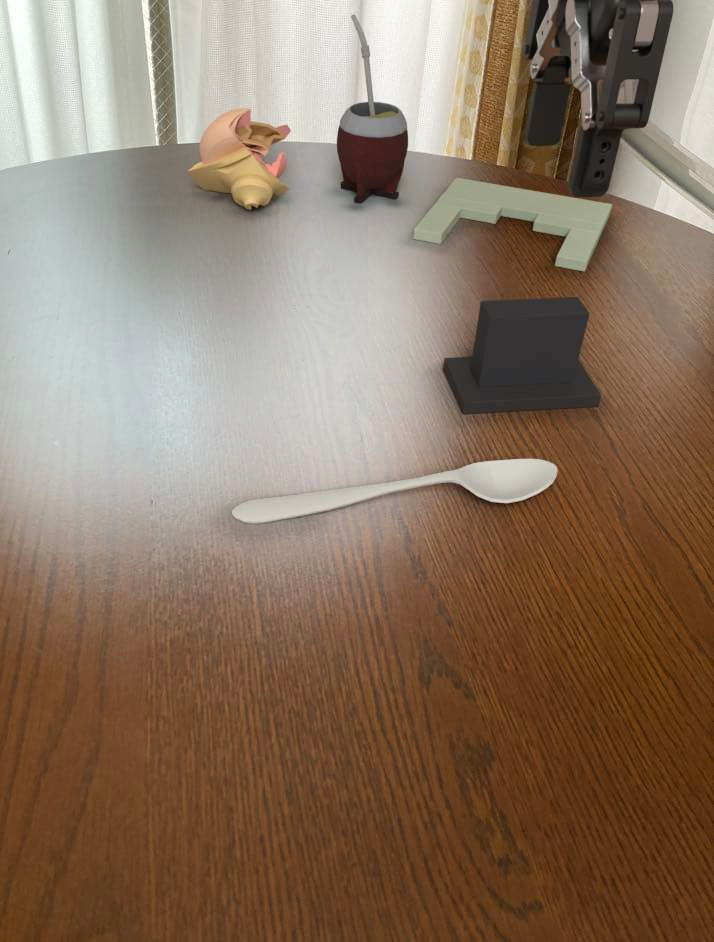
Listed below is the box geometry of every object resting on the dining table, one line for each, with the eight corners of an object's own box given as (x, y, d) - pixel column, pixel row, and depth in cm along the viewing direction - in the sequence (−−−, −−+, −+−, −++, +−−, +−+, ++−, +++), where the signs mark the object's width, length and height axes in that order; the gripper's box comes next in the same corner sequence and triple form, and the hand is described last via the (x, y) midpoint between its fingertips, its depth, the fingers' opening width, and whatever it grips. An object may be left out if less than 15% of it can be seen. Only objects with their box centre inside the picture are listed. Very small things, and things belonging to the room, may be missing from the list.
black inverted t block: (562, 349, 72) (580, 271, 67) (598, 406, 66) (620, 325, 61) (436, 355, 71) (446, 276, 66) (462, 414, 65) (475, 332, 60)
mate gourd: (388, 211, 91) (401, 43, 81) (315, 196, 93) (319, 31, 83) (414, 185, 96) (430, 24, 86) (345, 171, 98) (352, 13, 88)
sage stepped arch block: (610, 213, 91) (612, 203, 91) (584, 272, 82) (587, 261, 81) (454, 186, 96) (456, 177, 95) (412, 239, 86) (414, 228, 85)
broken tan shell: (304, 219, 90) (245, 164, 83) (224, 249, 96) (162, 200, 88) (307, 139, 93) (249, 79, 85) (229, 173, 98) (168, 120, 90)
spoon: (565, 506, 57) (570, 485, 56) (235, 538, 55) (234, 517, 54) (541, 466, 60) (546, 445, 59) (228, 494, 58) (227, 473, 57)
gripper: (770, -143, 41) (667, 213, 52) (645, -174, 52) (581, 128, 62) (609, -145, 40) (539, 217, 51) (515, -176, 51) (473, 130, 62)
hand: (562, 167), depth 57 cm, fingers open, 8 cm apart
